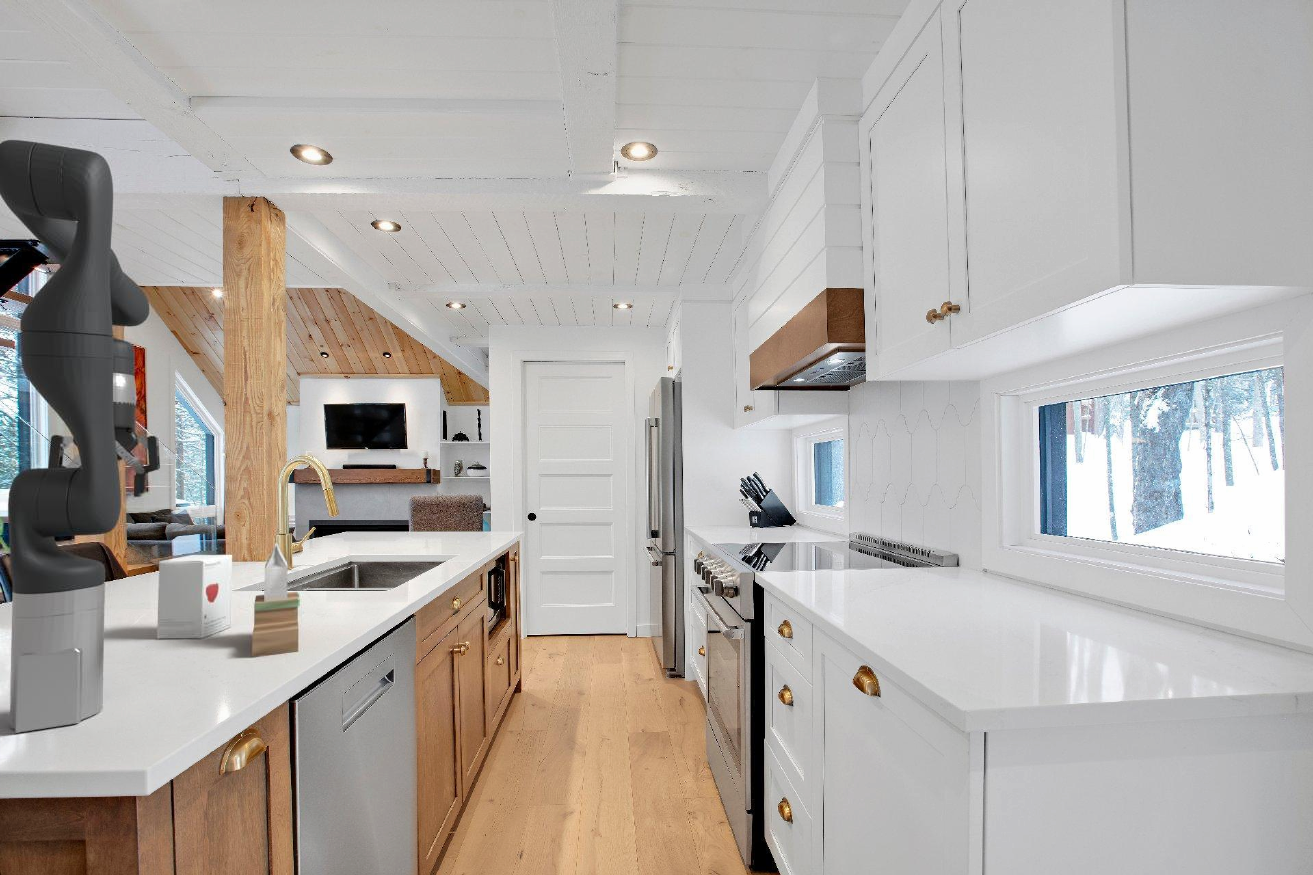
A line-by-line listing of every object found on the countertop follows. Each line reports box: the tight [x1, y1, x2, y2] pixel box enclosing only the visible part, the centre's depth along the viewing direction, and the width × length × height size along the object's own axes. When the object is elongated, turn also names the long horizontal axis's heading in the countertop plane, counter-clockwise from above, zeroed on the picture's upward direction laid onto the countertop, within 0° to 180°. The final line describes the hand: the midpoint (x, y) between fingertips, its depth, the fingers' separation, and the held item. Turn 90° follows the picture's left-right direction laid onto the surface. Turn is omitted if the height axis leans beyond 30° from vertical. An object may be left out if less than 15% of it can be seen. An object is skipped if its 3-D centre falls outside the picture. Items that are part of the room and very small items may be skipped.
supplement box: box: [156, 554, 233, 639], centre depth 131 cm, size 9×9×15 cm
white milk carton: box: [263, 542, 288, 602], centre depth 126 cm, size 4×7×10 cm, turn 30°
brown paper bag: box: [251, 591, 301, 658], centre depth 123 cm, size 15×7×8 cm, turn 29°
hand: (105, 497), depth 111 cm, fingers open, 8 cm apart
